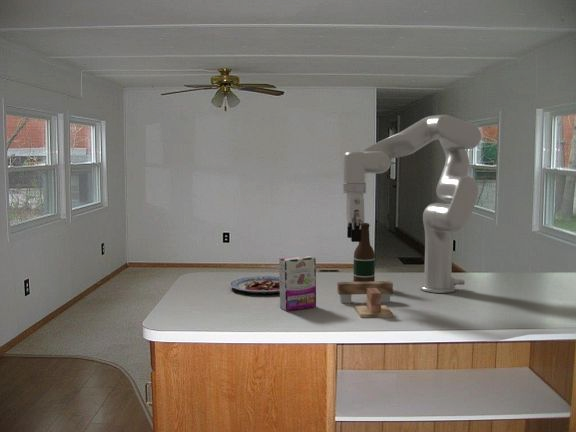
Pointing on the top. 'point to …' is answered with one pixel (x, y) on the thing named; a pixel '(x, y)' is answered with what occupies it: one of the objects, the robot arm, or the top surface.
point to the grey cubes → (348, 298)
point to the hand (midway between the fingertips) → (354, 239)
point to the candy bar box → (297, 282)
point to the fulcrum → (373, 306)
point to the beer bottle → (364, 258)
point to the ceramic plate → (257, 284)
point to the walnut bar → (364, 287)
